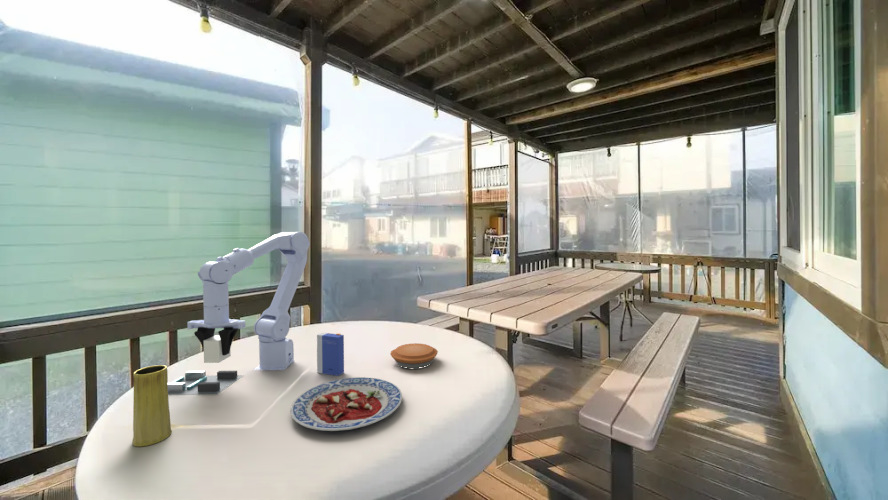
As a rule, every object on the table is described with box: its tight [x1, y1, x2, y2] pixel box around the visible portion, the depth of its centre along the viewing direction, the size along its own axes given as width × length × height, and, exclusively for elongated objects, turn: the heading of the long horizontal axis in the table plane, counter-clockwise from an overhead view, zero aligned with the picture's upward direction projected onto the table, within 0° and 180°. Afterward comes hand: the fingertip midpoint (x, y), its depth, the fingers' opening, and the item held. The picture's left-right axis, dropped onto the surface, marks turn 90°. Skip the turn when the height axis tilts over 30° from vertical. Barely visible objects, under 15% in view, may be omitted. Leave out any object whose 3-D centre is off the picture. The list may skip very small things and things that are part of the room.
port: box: [168, 370, 207, 392], centre depth 93 cm, size 7×9×2 cm
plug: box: [203, 334, 232, 364], centre depth 93 cm, size 4×5×6 cm
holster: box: [198, 370, 238, 392], centre depth 93 cm, size 5×9×2 cm, turn 1°
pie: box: [389, 342, 439, 368], centre depth 111 cm, size 15×16×5 cm
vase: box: [131, 364, 172, 448], centre depth 69 cm, size 6×6×14 cm
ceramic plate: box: [290, 376, 403, 432], centre depth 82 cm, size 26×26×3 cm
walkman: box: [316, 332, 345, 377], centre depth 102 cm, size 8×3×12 cm, turn 70°
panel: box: [168, 374, 244, 396], centre depth 93 cm, size 16×12×1 cm
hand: (217, 354), depth 93 cm, fingers closed on plug, 4 cm apart
